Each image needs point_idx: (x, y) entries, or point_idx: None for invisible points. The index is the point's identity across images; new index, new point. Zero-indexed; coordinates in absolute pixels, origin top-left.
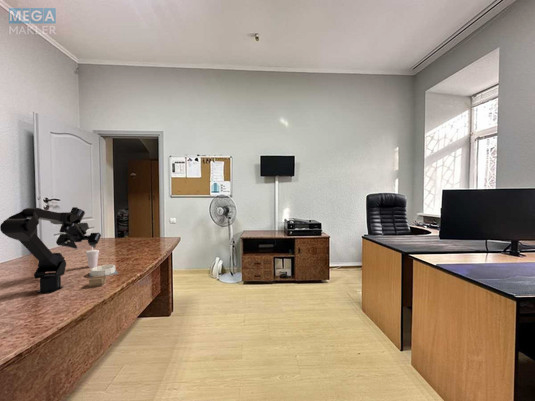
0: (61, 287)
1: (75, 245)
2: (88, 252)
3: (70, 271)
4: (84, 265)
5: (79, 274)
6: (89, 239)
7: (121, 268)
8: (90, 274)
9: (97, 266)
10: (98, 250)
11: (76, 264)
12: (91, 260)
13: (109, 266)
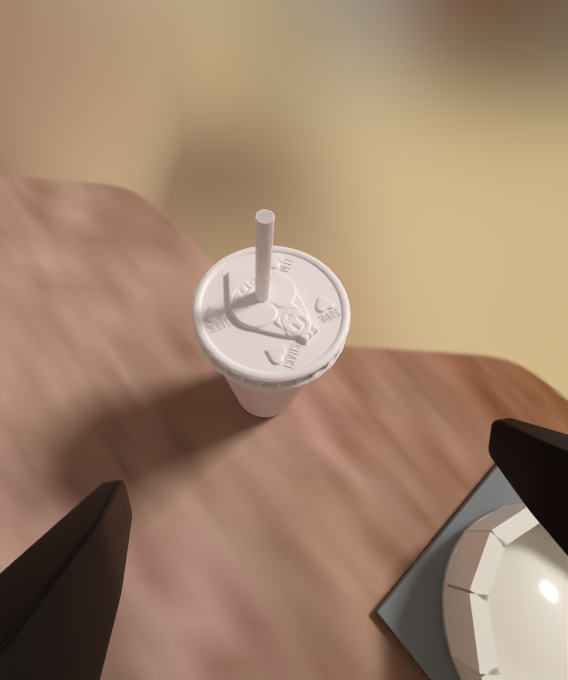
0: None
1: (94, 559)
2: (269, 382)
3: None
4: (143, 323)
5: (295, 631)
6: None
7: None
8: (445, 672)
9: (479, 579)
10: (341, 290)
11: (50, 289)
12: (284, 399)
13: None
